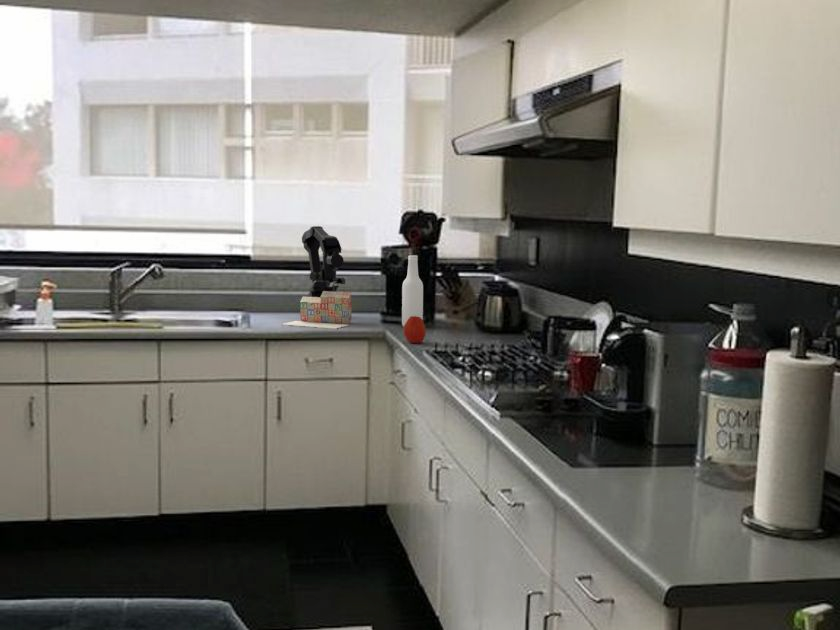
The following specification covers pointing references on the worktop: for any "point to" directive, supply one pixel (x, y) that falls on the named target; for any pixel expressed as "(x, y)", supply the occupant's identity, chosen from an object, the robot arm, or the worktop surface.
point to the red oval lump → (414, 329)
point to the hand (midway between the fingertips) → (329, 301)
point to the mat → (316, 324)
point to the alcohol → (412, 292)
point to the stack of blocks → (327, 308)
